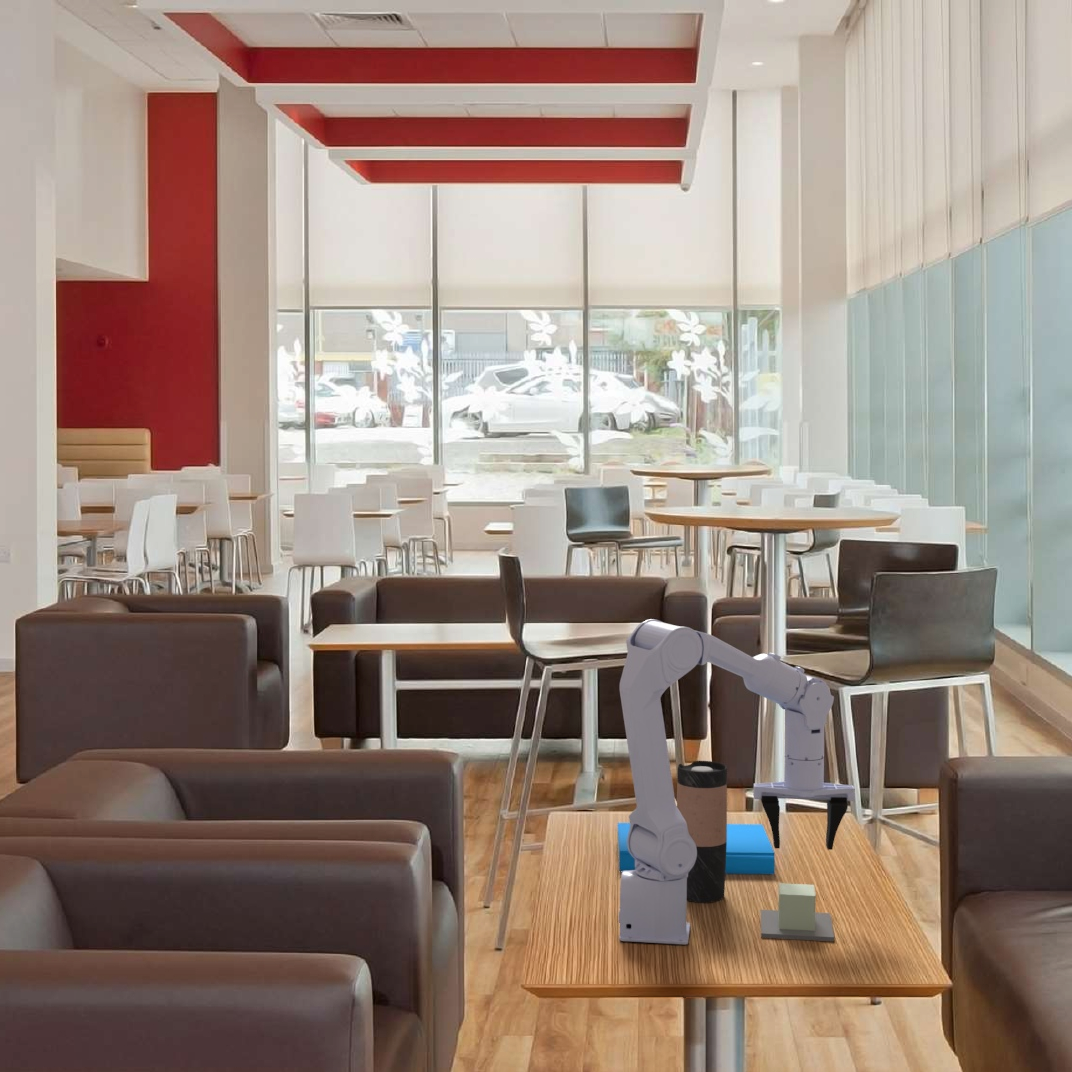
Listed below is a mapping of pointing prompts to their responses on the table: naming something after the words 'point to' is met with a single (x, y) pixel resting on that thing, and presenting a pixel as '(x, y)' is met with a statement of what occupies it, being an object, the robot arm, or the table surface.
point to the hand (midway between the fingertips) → (802, 847)
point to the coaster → (772, 930)
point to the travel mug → (705, 826)
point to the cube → (796, 906)
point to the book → (743, 850)
